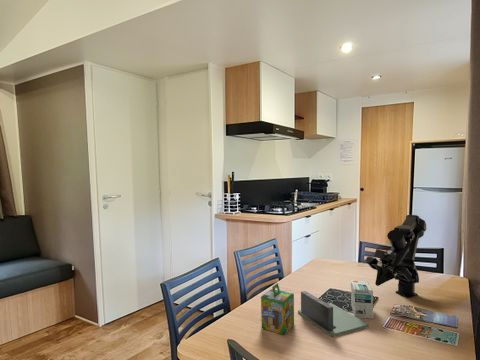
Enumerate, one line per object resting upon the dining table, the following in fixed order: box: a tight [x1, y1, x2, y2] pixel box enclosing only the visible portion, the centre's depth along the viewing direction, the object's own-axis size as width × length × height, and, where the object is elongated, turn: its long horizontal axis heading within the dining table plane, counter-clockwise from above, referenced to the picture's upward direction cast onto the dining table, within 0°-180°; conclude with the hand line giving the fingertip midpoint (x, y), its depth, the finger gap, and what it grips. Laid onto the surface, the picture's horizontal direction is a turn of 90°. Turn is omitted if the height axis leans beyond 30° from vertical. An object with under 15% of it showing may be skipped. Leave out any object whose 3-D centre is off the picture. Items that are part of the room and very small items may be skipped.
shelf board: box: [297, 302, 370, 338], centre depth 119 cm, size 16×20×1 cm
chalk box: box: [260, 282, 295, 336], centre depth 114 cm, size 9×9×15 cm
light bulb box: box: [350, 279, 374, 319], centre depth 124 cm, size 11×7×11 cm, turn 168°
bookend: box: [300, 290, 336, 332], centre depth 116 cm, size 4×16×8 cm, turn 24°
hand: (376, 285), depth 127 cm, fingers closed
